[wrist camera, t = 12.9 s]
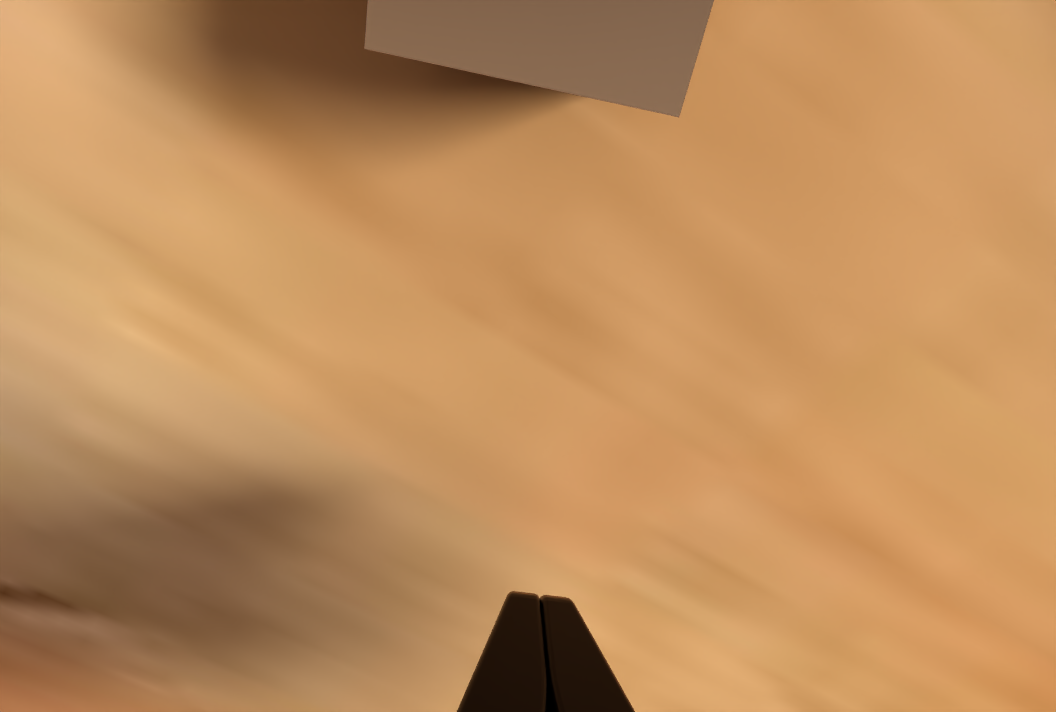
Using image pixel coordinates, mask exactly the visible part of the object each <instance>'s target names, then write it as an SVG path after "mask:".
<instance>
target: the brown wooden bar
mask: <svg viewBox="0 0 1056 712" xmlns="http://www.w3.org/2000/svg"><path fill="white" fill-rule="evenodd" d="M713 2H714V0H368V3H367V17H366V32H365V47H364V49H367V50H372V51H376V52H381V53H385V54H390V55H395V56H399V57H404V58H408V59H413V60H418V61H422V62H427V63H431V64H436V65H441V66H445V67H450V68H454V69H459V70H464V71H468V72H473V73H477V74H482V75H487V76H491V77H496V78H501V79H505V80H510V81H514V82H519V83H524V84H528V85H533V86H537V87H542V88H547V89H551V90H556V91H560V92H565V93H570V94H574V95H579V96H583V97H588V98H593V99H597V100H602V101H606V102H611V103H616V104H620V105H625V106H629V107H634V108H639V109H643V110H648V111H652V112H657V113H662V114H666V115H671V116H675V117H679V116H680V113H681V109H682V106H683V102H684V99H685V96H686V92H687V89H688V86H689V82H690V79H691V76H692V72H693V69H694V65H695V62H696V59H697V55H698V52H699V49H700V45H701V42H702V39H703V35H704V32H705V28H706V25H707V22H708V18H709V15H710V12H711V8H712V5H713Z"/></svg>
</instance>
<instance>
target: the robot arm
mask: <svg viewBox="0 0 1056 712" xmlns="http://www.w3.org/2000/svg"><path fill="white" fill-rule="evenodd" d="M457 712H635V711H634V709H633V707H632V705H631V704H630V702H629V700H628V698H627V697H626V695H625V693H624V691H623V690H622V688H621V686H620V684H619V682H618V681H617V679H616V677H615V675H614V674H613V672H612V670H611V668H610V666H609V665H608V663H607V661H606V659H605V658H604V656H603V654H602V652H601V650H600V649H599V647H598V645H597V643H596V642H595V640H594V638H593V636H592V634H591V633H590V631H589V629H588V627H587V626H586V624H585V622H584V620H583V619H582V617H581V615H580V613H579V611H578V610H577V608H576V606H575V604H574V603H573V601H572V600H570V599H569V598H566V597H558V596H550V595H543V596H541V597H540V599H539V597H538V595H536V594H533V593H524V592H516V591H512V592H510V593H509V594H508V595H507V597H506V599H505V602H504V604H503V606H502V609H501V611H500V613H499V615H498V618H497V620H496V622H495V625H494V627H493V629H492V632H491V634H490V636H489V639H488V641H487V643H486V645H485V648H484V650H483V652H482V655H481V657H480V659H479V662H478V664H477V666H476V669H475V671H474V673H473V675H472V678H471V680H470V682H469V685H468V687H467V689H466V692H465V694H464V696H463V699H462V701H461V703H460V705H459V708H458V710H457Z"/></svg>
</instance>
